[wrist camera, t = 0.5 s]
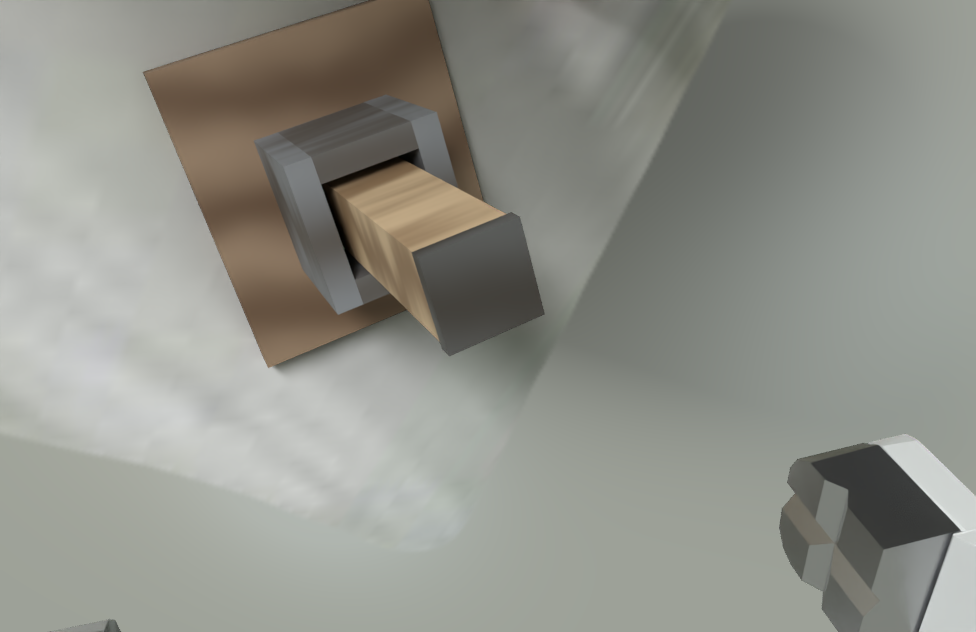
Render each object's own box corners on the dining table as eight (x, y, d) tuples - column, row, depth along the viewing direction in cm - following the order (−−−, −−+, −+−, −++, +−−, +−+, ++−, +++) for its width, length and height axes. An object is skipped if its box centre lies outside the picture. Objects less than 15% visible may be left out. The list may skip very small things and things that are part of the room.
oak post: (297, 161, 50) (416, 257, 32) (367, 136, 51) (520, 214, 33) (322, 231, 52) (448, 357, 34) (389, 205, 53) (545, 314, 35)
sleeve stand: (142, 71, 47) (156, 90, 39) (416, -15, 52) (483, -16, 43) (264, 359, 55) (297, 427, 46) (492, 263, 59) (562, 310, 51)
